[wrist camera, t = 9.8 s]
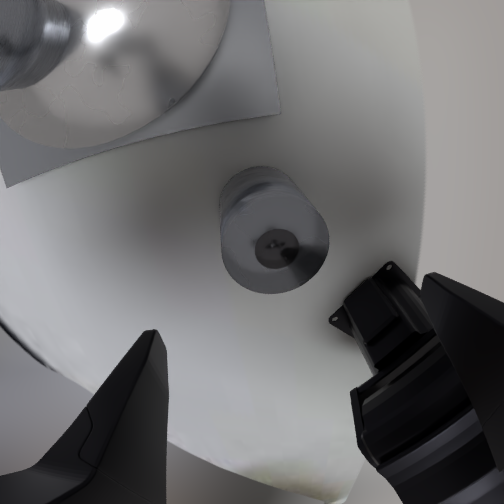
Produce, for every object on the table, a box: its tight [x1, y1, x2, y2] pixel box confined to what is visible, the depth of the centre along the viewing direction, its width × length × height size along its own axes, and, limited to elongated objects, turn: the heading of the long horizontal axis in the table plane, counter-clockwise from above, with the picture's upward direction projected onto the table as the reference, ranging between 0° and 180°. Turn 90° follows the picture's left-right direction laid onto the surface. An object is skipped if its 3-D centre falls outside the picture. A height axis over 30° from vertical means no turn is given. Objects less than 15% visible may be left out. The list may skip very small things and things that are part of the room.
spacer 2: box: [219, 166, 329, 294], centre depth 14 cm, size 4×4×5 cm
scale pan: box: [0, 0, 230, 148], centre depth 9 cm, size 12×12×1 cm
